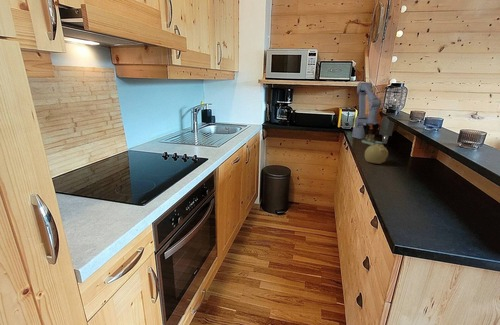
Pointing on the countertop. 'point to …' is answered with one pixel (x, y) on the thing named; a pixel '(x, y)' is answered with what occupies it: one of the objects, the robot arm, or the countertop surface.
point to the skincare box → (386, 127)
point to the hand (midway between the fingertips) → (370, 134)
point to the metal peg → (385, 139)
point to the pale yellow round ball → (376, 154)
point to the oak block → (370, 138)
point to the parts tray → (372, 143)
